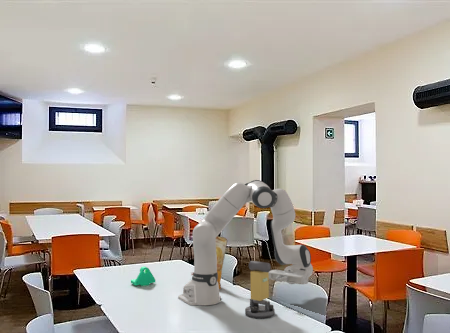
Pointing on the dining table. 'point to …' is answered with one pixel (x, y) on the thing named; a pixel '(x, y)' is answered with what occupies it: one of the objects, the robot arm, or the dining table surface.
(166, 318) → the dining table surface
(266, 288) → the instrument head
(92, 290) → the dining table surface
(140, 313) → the dining table surface
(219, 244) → the pancake mix bag
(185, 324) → the dining table surface
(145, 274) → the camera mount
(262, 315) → the grey round mount base
